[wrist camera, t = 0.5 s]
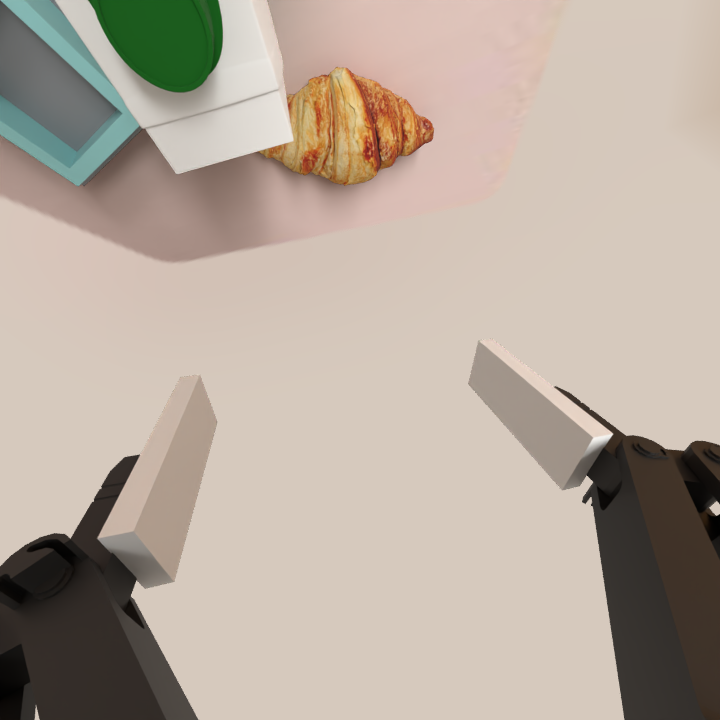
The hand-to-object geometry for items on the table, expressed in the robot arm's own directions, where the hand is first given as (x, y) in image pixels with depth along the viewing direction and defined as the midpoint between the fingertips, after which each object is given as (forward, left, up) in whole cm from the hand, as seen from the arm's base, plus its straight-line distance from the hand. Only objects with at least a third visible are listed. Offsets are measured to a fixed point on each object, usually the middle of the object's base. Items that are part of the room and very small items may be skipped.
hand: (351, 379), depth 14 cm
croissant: (+5, +3, -33) cm, 34 cm away
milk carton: (-8, -1, -33) cm, 34 cm away
